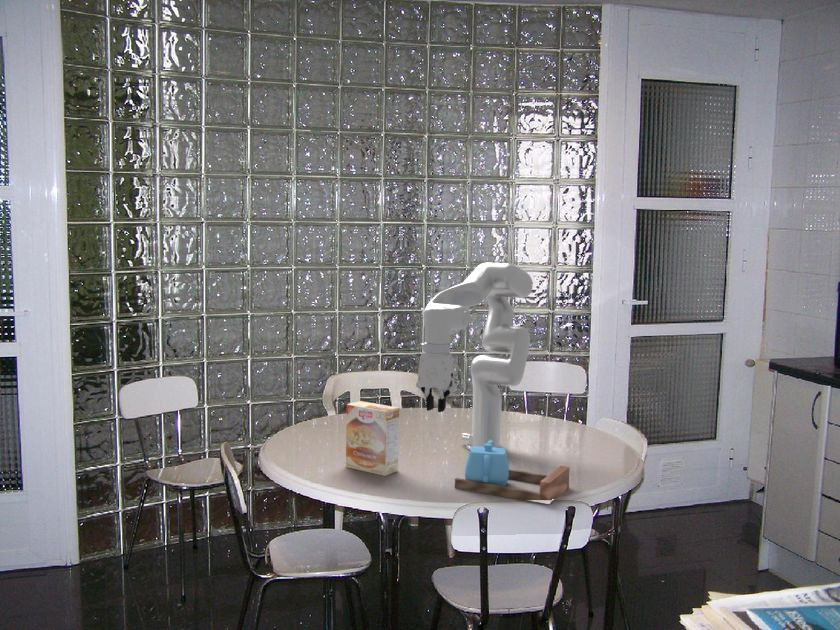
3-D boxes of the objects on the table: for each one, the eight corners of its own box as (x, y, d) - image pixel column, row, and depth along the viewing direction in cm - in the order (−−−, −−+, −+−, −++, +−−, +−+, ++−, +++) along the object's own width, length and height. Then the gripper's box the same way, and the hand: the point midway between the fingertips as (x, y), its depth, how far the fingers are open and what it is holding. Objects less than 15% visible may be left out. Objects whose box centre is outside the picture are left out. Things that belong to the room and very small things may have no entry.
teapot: (509, 476, 235) (511, 438, 234) (507, 493, 217) (509, 451, 216) (467, 473, 236) (469, 435, 236) (462, 489, 219) (464, 448, 218)
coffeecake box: (344, 467, 239) (345, 404, 237) (359, 462, 245) (360, 400, 243) (384, 476, 231) (386, 411, 229) (398, 471, 237) (400, 406, 235)
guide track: (454, 487, 222) (455, 466, 221) (479, 472, 237) (480, 452, 237) (548, 505, 209) (549, 483, 209) (568, 487, 225) (569, 466, 224)
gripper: (406, 347, 232) (405, 409, 233) (457, 352, 224) (455, 416, 226) (418, 345, 238) (417, 405, 240) (468, 349, 231) (466, 411, 232)
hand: (435, 410), depth 233 cm, fingers open, 3 cm apart
